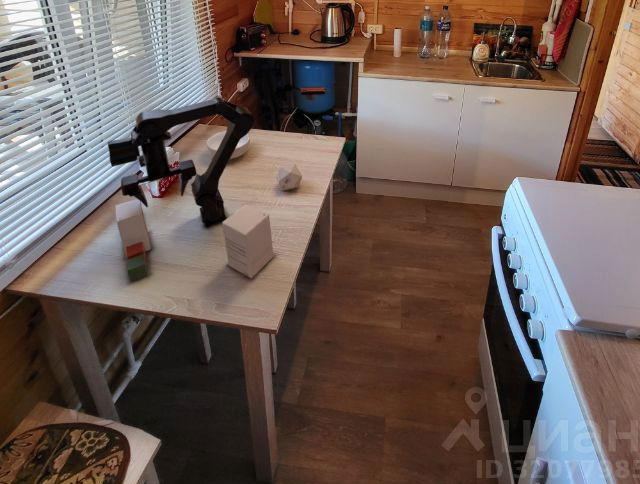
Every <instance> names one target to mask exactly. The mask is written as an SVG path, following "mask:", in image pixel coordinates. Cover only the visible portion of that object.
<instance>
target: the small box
mask: <svg viewBox="0 0 640 484" xmlns="http://www.w3.org/2000/svg"><path fill="white" fill-rule="evenodd" d="M142 205H143V204H142V202H141V201H140V200H139V199H137V198H136V199H132V200H129V201H125V202H122V203H119V204H116V205H115V220H116V223H117V224H116V225H117V228H118V232H119V236H120V240H121V242H122V246H123V250H124V254H125V259H127V253H126V247H128V246H131V245H134V244H137V243H140V242H143V246H144V250H145V252H148V251H150V250H151V249H152V246H151V242H150V238H149V232H148V226H147V223H146V219H145V215H144V210H143V206H142Z"/></svg>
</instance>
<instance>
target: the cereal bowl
mask: <svg viewBox="0 0 640 484" xmlns="http://www.w3.org/2000/svg"><path fill="white" fill-rule="evenodd" d="M226 132H227V130H224V131H220V132H217V133H215V134H213V135H211V136H210V137H209V138H208V139H207V141H206V148H207V151H208V153H209V154H210V155H211V156H212V157H214V155H215V153H216V151H217V149H218V148H219V146H220V144H221V142H222V140H223V138H224V136H225V134H226ZM250 144H251V139H250V135H249V133H248V134H247V135H245V136H244V137H243V138H241V139H240V141H239V143H238V144H237V146H236V148H235V150H234V152H233V154H232V156H231V158H230V160H232V159H236V158H238V157H241V156H243V155H244V154H245V153H246V152H247V151H248V150H249V148H250Z"/></svg>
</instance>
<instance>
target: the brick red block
mask: <svg viewBox="0 0 640 484" xmlns="http://www.w3.org/2000/svg"><path fill="white" fill-rule="evenodd" d="M126 253H127V258H126V261H127V260H129V259H131V258H134V257H137V256H140V255H142V254H144V257H145V261H146V262H147V257H146V256H147V255H146V251H145V250H144V246H143V242H140V243H137V244H134V245H131V246H128V247H126Z"/></svg>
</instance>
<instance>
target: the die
mask: <svg viewBox="0 0 640 484" xmlns="http://www.w3.org/2000/svg"><path fill="white" fill-rule="evenodd" d="M302 179H303V175H302V174H301V172H300V169H299V168H298V166H297V165H296V163H294V164H293V163H292V164H289V165H284V166H280V168H279V170H278V173H277V175H276V180H277V182H278V183H279V185H280V187H281V189H282V191H288V190H293V189H298V188H299V186H300V184H301V181H302Z"/></svg>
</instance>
